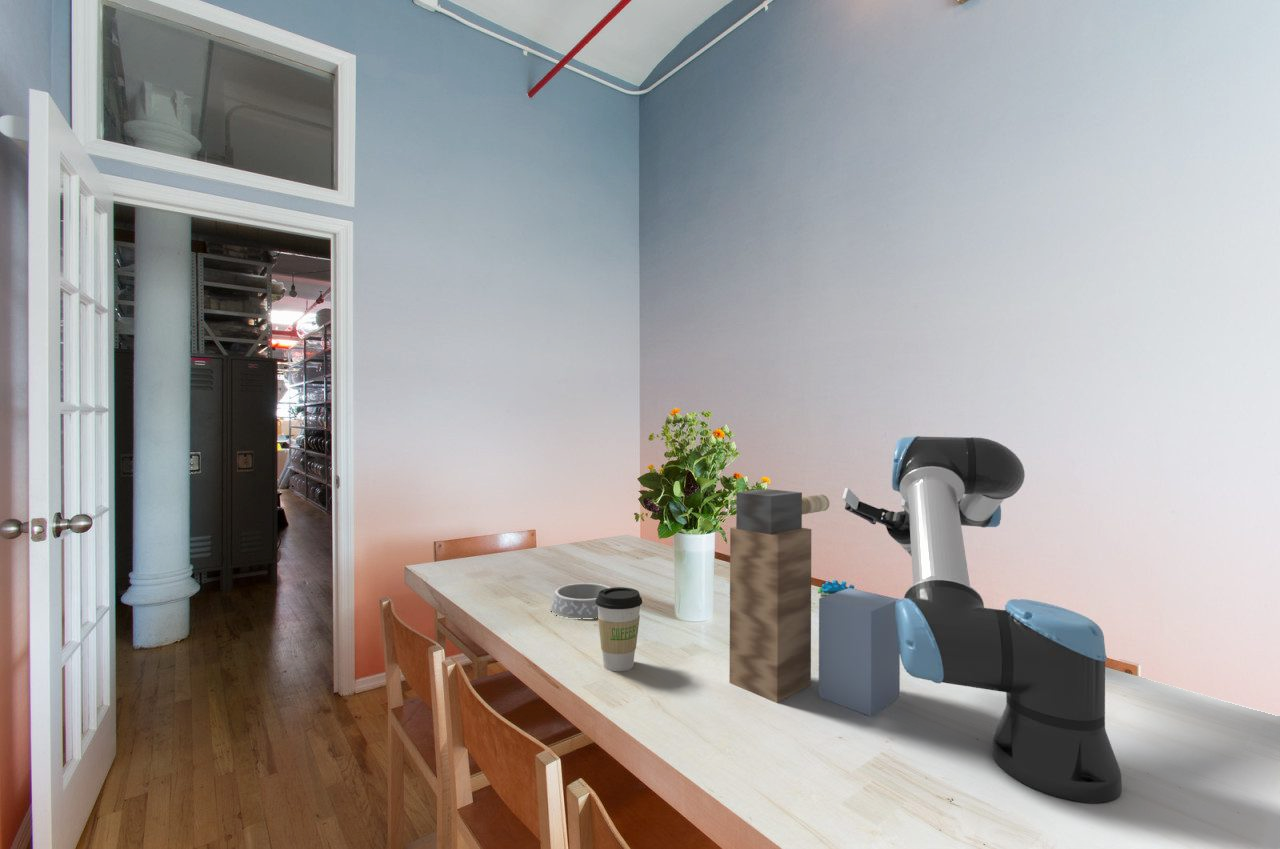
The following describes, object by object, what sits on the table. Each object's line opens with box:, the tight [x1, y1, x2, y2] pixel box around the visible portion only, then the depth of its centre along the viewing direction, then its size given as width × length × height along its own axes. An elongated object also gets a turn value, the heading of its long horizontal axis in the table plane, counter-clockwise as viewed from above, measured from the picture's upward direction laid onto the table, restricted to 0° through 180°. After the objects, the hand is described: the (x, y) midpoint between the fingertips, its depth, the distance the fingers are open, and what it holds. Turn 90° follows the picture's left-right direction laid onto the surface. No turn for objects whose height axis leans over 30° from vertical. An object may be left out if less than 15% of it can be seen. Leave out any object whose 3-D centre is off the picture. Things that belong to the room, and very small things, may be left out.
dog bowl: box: [550, 582, 612, 619], centre depth 157 cm, size 17×18×5 cm
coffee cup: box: [595, 586, 643, 672], centre depth 120 cm, size 10×10×15 cm
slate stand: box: [818, 587, 901, 717], centre depth 106 cm, size 10×11×18 cm
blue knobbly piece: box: [817, 579, 858, 598], centre depth 162 cm, size 11×6×10 cm
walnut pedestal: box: [728, 526, 812, 704], centre depth 112 cm, size 11×11×30 cm
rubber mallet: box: [735, 488, 830, 535], centre depth 116 cm, size 8×24×7 cm, turn 132°
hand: (873, 496), depth 131 cm, fingers open, 13 cm apart
